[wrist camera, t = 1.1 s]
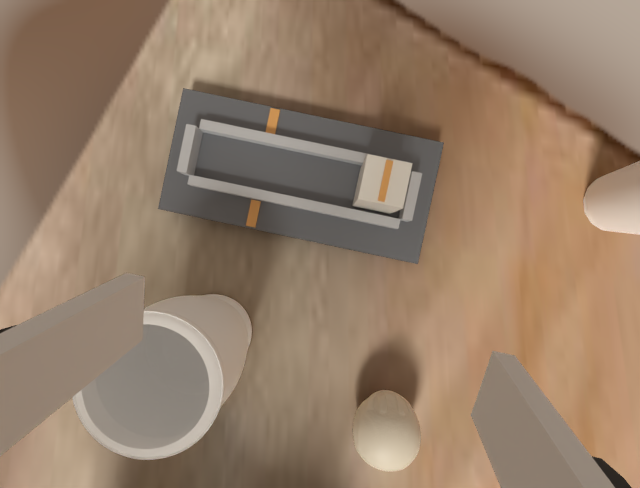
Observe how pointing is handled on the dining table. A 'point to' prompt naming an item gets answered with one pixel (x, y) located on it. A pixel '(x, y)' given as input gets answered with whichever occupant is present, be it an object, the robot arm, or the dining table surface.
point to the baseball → (386, 431)
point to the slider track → (294, 175)
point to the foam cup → (615, 200)
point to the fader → (382, 184)
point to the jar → (169, 378)
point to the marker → (255, 204)
